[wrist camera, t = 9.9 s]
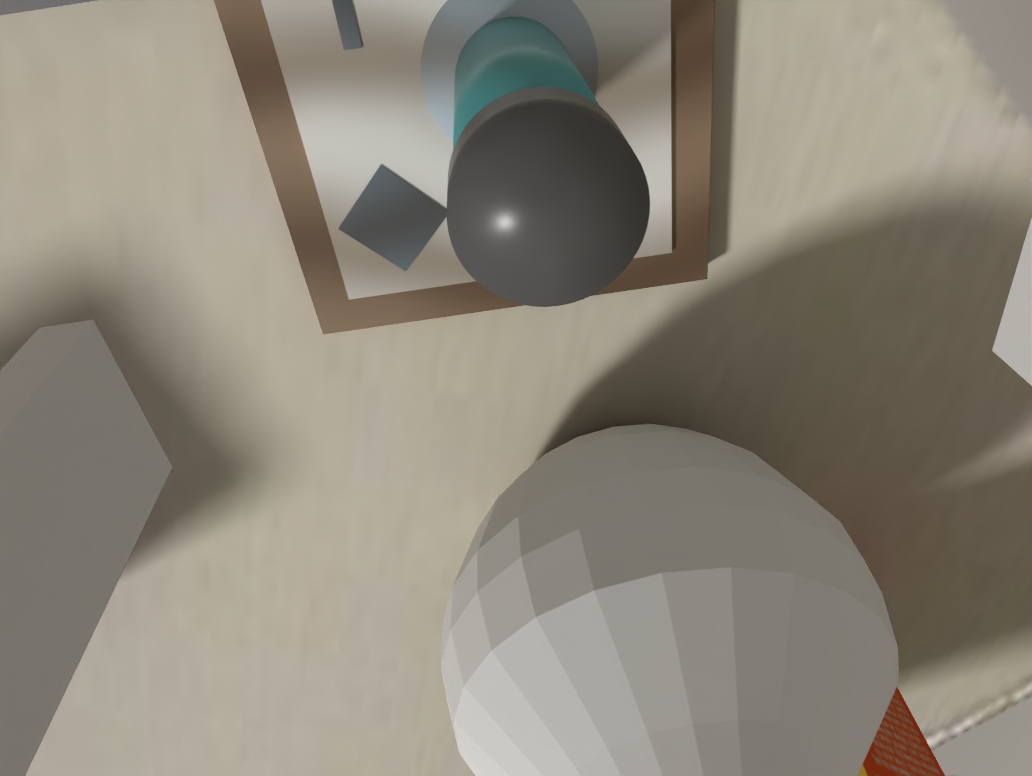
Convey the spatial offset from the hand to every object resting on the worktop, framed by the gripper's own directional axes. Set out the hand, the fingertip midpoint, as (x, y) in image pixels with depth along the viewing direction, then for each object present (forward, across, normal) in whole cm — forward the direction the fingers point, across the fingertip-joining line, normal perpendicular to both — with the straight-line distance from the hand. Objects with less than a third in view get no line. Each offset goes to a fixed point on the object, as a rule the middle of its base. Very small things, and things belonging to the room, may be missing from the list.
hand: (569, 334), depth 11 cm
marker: (+17, 0, 0) cm, 17 cm away
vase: (+19, +3, -22) cm, 29 cm away
